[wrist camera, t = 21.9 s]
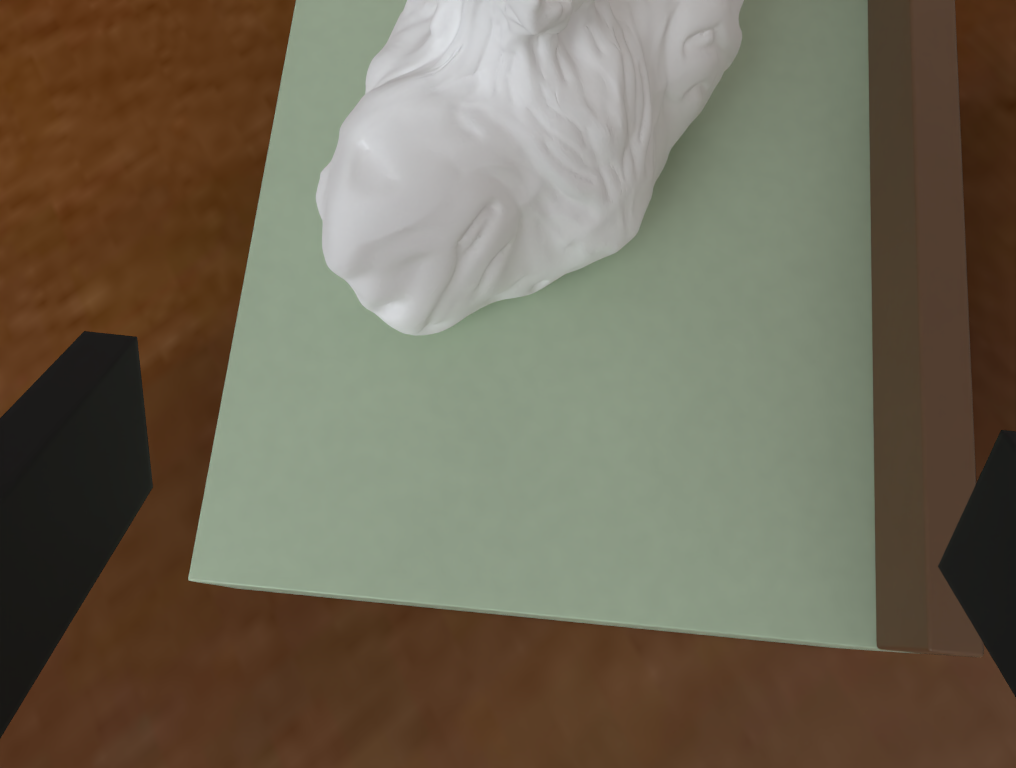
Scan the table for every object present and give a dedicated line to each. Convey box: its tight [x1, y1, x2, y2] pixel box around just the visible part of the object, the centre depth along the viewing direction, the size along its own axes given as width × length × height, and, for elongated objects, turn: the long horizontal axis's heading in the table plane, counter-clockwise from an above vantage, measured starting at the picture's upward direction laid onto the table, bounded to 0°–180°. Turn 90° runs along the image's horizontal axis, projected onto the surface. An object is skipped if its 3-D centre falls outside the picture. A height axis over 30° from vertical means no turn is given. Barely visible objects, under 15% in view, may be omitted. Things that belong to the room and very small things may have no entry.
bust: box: [316, 0, 744, 336], centre depth 19 cm, size 12×8×11 cm
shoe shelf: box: [188, 0, 984, 657], centre depth 24 cm, size 17×22×7 cm
